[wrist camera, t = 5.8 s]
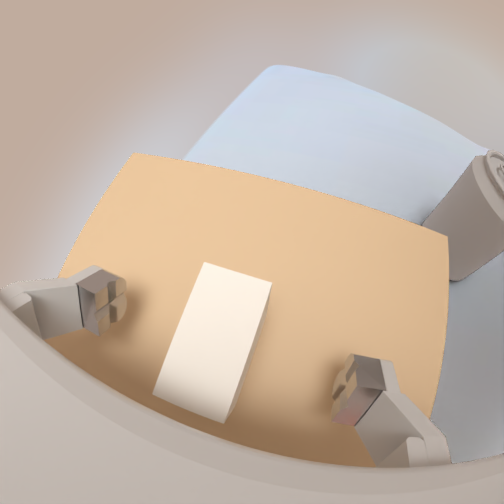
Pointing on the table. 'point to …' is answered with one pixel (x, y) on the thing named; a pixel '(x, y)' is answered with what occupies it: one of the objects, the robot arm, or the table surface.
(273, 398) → the carton lid
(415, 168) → the table surface
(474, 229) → the can
